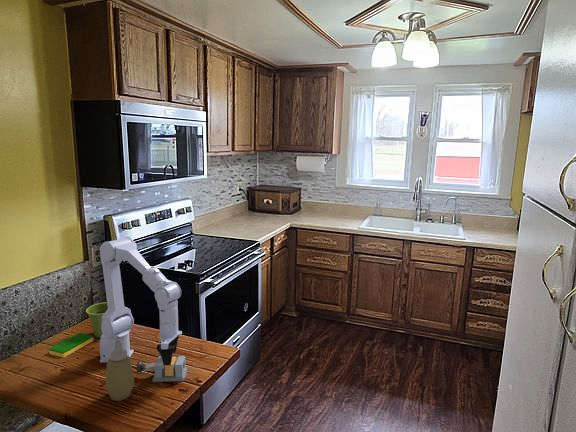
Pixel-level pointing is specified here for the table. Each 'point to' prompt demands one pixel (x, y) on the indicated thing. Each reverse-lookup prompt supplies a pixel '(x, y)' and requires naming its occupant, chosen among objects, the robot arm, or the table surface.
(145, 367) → the shaft
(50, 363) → the table surface
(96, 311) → the plant pot
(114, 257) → the robot arm
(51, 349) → the dish sponge
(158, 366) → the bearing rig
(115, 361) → the squeeze bottle
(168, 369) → the block
